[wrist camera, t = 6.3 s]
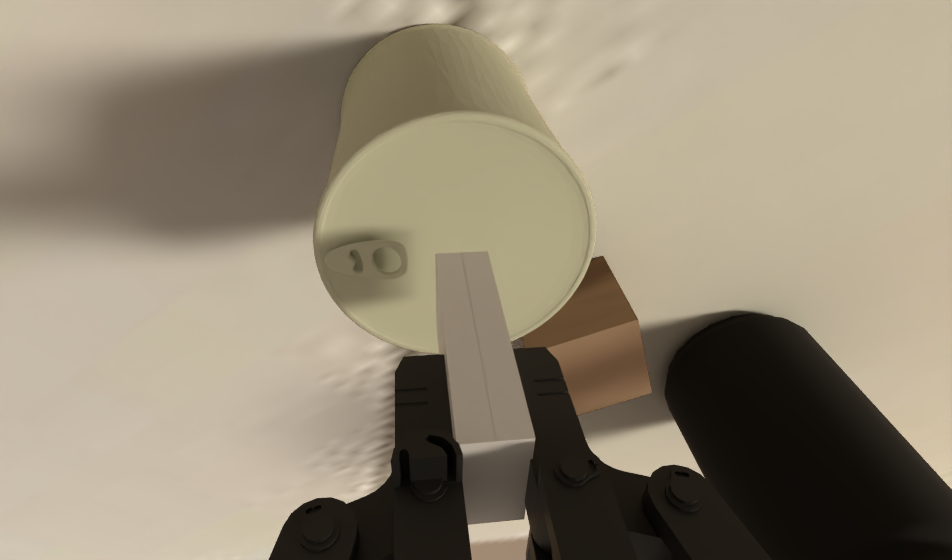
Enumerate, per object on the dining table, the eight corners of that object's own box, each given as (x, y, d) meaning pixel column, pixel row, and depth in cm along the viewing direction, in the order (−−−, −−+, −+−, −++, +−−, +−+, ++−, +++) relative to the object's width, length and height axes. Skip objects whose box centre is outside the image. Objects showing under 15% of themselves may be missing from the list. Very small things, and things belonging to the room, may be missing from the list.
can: (325, 27, 24) (276, 127, 14) (533, 18, 25) (622, 106, 15) (356, 214, 29) (336, 377, 20) (526, 201, 30) (588, 353, 20)
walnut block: (507, 286, 33) (526, 354, 29) (602, 255, 33) (637, 319, 28) (532, 352, 37) (552, 423, 32) (618, 325, 36) (652, 392, 32)
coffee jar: (685, 431, 44) (827, 700, 29) (635, 355, 38) (782, 644, 24) (816, 370, 41) (1041, 633, 27) (784, 279, 36) (1050, 552, 21)
